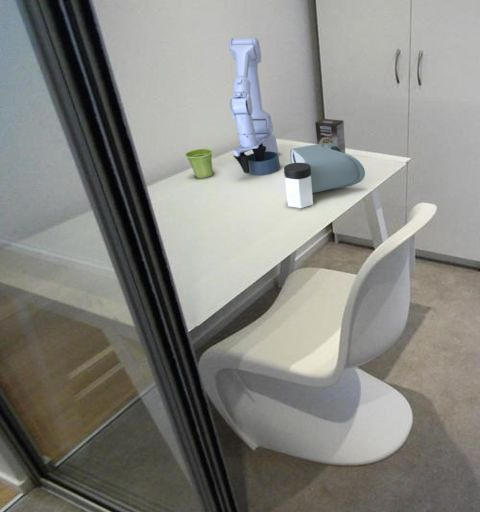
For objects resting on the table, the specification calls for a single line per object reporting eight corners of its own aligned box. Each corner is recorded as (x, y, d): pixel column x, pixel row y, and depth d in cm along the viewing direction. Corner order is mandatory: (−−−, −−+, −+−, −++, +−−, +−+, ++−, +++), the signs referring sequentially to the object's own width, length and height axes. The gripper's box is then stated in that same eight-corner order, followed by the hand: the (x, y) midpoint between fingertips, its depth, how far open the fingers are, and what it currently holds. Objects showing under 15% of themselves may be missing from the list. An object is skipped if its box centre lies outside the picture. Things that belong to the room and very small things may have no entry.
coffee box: (318, 163, 170) (314, 122, 161) (326, 158, 175) (322, 118, 166) (339, 166, 167) (335, 124, 158) (346, 161, 172) (343, 119, 163)
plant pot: (221, 170, 166) (216, 148, 162) (211, 180, 158) (205, 157, 154) (198, 170, 167) (192, 148, 163) (186, 179, 159) (180, 157, 155)
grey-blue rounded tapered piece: (293, 179, 157) (288, 144, 150) (341, 169, 164) (338, 135, 157) (314, 201, 140) (309, 162, 133) (366, 188, 147) (364, 151, 141)
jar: (281, 205, 137) (277, 169, 130) (294, 196, 143) (290, 161, 137) (307, 209, 134) (303, 172, 128) (318, 200, 141) (316, 164, 135)
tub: (262, 162, 174) (259, 149, 171) (286, 165, 169) (284, 153, 166) (241, 172, 165) (238, 159, 162) (266, 176, 160) (264, 163, 157)
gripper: (241, 139, 147) (248, 177, 154) (268, 128, 158) (274, 164, 165) (225, 137, 150) (233, 174, 157) (253, 126, 161) (259, 161, 168)
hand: (253, 169), depth 161 cm, fingers open, 7 cm apart
